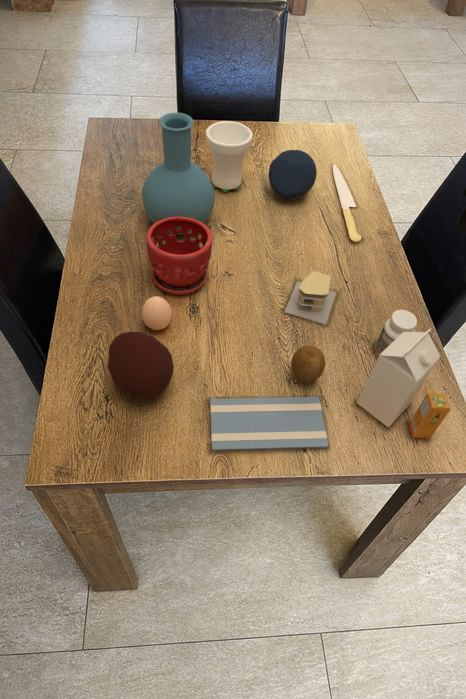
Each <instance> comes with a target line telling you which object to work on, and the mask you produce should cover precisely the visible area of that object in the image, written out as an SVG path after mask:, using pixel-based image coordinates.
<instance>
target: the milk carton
mask: <svg viewBox="0 0 466 699" xmlns="http://www.w3.org/2000/svg"><path fill="white" fill-rule="evenodd" d="M431 330H432V329H431V328H428V329H427V330H426V331H415V332H403V333H402V334H401V335H400V336H399V337H398V338H397V339H395V340H394V341H393V342H392V343H391V344H390V345H389V346H388V347H387V348H386V349H385V350H384V351H383V352H382V353H381V354H380V355H379V356H378V357H377V360H376V361H375V363H374V366H373V368H372V369H371V372H370V374H369V376H368V378H367V380H366V382H365V384H364V386H363V388H362V391H361V393H360V395H359V396H358V399H357V401H356V404H357V405H358V406H359V407H361V408H362V409H363V410H364V411H366V412H367V413H368V414H370V415H371V416H372V417H374V418H375V419H376V420H378V421H379V422H380V423H381V424H383V425H384V426H385V427H387V428H390V427H391V425H392V424H393V423H394V422H395V421H396V420H397V419H398V418H399V417H400V416H401V415H402V413H404V412H405V410H406V409H407V408H408V407H409V406H410V405H411V403H412V401H413V400H414V398H415V397H416V395H417V394H418V392H419V391H420V389H421V388H422V386H423V385H424V383H425V381H426V380H427V378H428V377H429V375H430V374H431V372H432V370H433V369H434V367H435V366H436V364H437V363H438V361H439V360H440V358H441V355H440V353H439V350H438V349H437V347H436V345H435V343H434V341H433V338H432V337H431V335H430V332H431Z"/></svg>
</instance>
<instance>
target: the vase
mask: <svg viewBox="0 0 466 699" xmlns="http://www.w3.org/2000/svg"><path fill="white" fill-rule="evenodd" d="M194 121H195V120H194V119H193V118H192V117H191V116H190V115H189V114H186V113H183V112H169V113H165V114H163V115H162V116H160V118H159V119H158V123H159V126H160V127H161V136H162V137H161V139H162V148H163V149H162V150H163V159H164V161H163V162H161V163H160V164H159V165H157V166H155V167H154V168H153V169H151V171H150V172H149V174H148V176H147V177H146V179H145V181H144V182H143V185H142V188H141V199H142V203H143V207H144V212H145V214H146V216H147V217H148V219H150V220H151V222H152V223H153V224H155V223H156V222H158V221H160V220H162V219H165V218H169V217H188V218H192V219H195V220H197V221H200V222H202V223H203V224H204V225H206V223H207V222H208V221H209V219H210V218H211V215H212V213H213V209H214V207H215V202H216V195H215V193H216V192H215V190H214V186H213V183H212V180H211V179H210V177H209V176H208V174H207V173H206V171H204V170H203V169H202V168H201V167H200V166H199V165H198V164H196V163H195V162H192V161H191V160H192V159H191V158H192V127H193V125H194V123H195V122H194ZM176 228H177V229H180V228H181V227H180V226H178V227H176ZM188 231H189V232H192V230H190V229H189V230H188ZM172 232H173V231H171V230H170V231H168V233H167V234H172ZM181 235H183V236H184V234H182V233H179V234H177V235H176V236H181Z"/></svg>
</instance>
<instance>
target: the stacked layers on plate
mask: <svg viewBox="0 0 466 699" xmlns="http://www.w3.org/2000/svg"><path fill="white" fill-rule="evenodd" d="M331 277H332V276H331V275H329V274H325V273H322V272H319V271H315V270H312V271H311V272H310V273H309V274H308V275H306V277H305V278H304V279H303V280H302V281H300V280H297V281H296V283H295V285H294V288H293V290H292V292H291V295H290V298H289V300H288V302H287V305H286V307H285V309H284V313H286V314H290V315H293V316H296V317H299V318H302V319H305V320H309V321H312V322H315V323H319V324H322V325H325V326H326V325H327V323H328V321H329V317H330V314H331V311H332V309H333V305H334V301H335V299H336V296H337V291H334V290H330V286H331Z"/></svg>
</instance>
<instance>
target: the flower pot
mask: <svg viewBox="0 0 466 699" xmlns="http://www.w3.org/2000/svg"><path fill="white" fill-rule="evenodd" d="M178 226H180V227H181V228H180V229H177V228H176V227H178ZM189 229H190V230H192V232H189V231H188V230H189ZM170 230H171V231H173V232H172V234H171V233H168V231H170ZM179 233H182V234H183V236H185V239H184V240H179V239H178V238H177V236H178V235H177V234H179ZM199 235H200V237H199ZM191 237H193V238H194V240H192V239H191ZM152 239H153V240H152ZM164 241H165V242H164ZM200 243H201V245H200ZM146 250H147V256H148V261H149V263H150V266H151V268H152V274H151V275H152V279H153V281H154V283H155V285H156V286H157V287H158V288H159V289H160V290H162V291H164V292H165V293H167V294H172V295H189V294H192V293H195V292H196V291H198V290H199V289H200V288H202V286H204V284H205V282H206V281H207V278H208V277H207V275H208V273H207V272H208V271H207V270H208V267H209V264H210V261H211V257H212V250H213V234H212V231H211V229H209V227H208V226H207V225H206V224H203V223H202V222H200V221H197V220H195V219H192V218H188V217H169V218H165V219H162V220H160V221H158V222H156V223H155V224H154V223H153V224H152V225H151V226H150V227H149V228H148V231H147V232H146Z"/></svg>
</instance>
